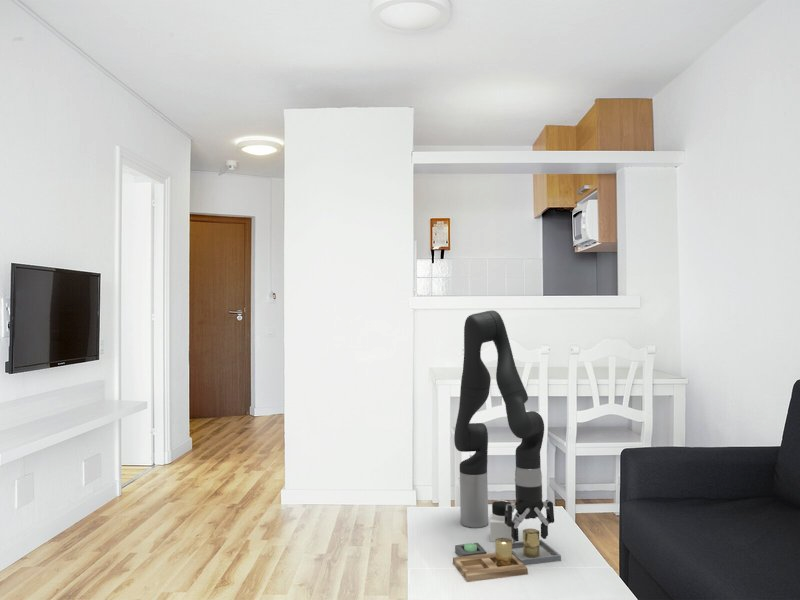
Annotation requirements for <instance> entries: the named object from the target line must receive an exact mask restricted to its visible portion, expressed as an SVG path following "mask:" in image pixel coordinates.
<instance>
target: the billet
mask: <svg viewBox="0 0 800 600" xmlns="http://www.w3.org/2000/svg"><path fill="white" fill-rule="evenodd" d="M539 540H540V531H539V530H538V529H535V528H525V529H523V530H522V542H523V547H522V551H523V552H522V554H523V556H524V557H526V558H528V559H529V558H537V557H541V555H540V553H541V551H540V547H541V546H540V545H539Z"/></svg>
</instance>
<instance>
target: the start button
mask: <svg viewBox="0 0 800 600" xmlns="http://www.w3.org/2000/svg"><path fill="white" fill-rule="evenodd" d="M474 543H475V542H467V543H464V544H465V545H464V551H465V552H473V551H477V545H476V544H474Z"/></svg>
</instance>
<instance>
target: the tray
mask: <svg viewBox="0 0 800 600" xmlns="http://www.w3.org/2000/svg"><path fill="white" fill-rule="evenodd" d="M539 546H540V547H542V548H543V549H544V550H545V551H546V552H548V553H549V554H550V555H547V556H539V557H537V558H529V557H528V558H521V557H520V556H519V555H518V554H516V552H515V551H514V550H513V549H520V548H522V549H523V541H517V542H516V541H514V543H512V554H513V555H514V556H515V557H516V558H517V559H518V560H520V561H521V562H522V563H523V564H524V565H525V566H529V565H537V564H538V565H539V564H546V563H547V564H548V563H555V562H562V555H561V554H560V553H559V552H557V551H556V550H555V549H554V548H552V546H550V545H549V544H548V543H546V542H545V541H544V540H543V539H539Z"/></svg>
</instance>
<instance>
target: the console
mask: <svg viewBox="0 0 800 600" xmlns="http://www.w3.org/2000/svg"><path fill="white" fill-rule="evenodd" d="M473 543H474V544H476V545H477V551H473V552H465V551H464V545H465V544H466V543H462V544H455V545H454V552H455V554H456V555H457V557H462V556H471V555H479V554H488V553H487V551H486V550H485V548H483V546H481V544H480V543H479V542H473Z"/></svg>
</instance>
